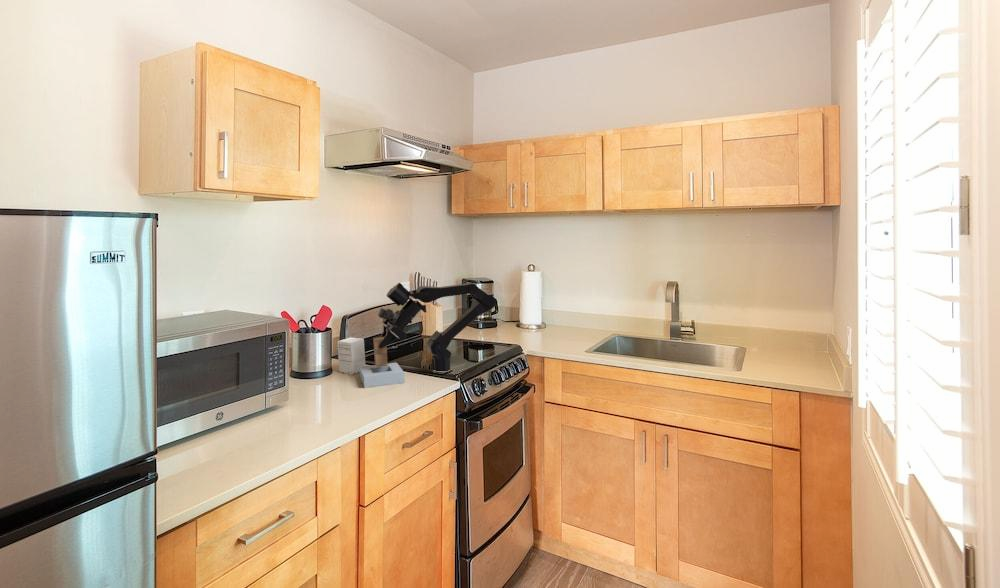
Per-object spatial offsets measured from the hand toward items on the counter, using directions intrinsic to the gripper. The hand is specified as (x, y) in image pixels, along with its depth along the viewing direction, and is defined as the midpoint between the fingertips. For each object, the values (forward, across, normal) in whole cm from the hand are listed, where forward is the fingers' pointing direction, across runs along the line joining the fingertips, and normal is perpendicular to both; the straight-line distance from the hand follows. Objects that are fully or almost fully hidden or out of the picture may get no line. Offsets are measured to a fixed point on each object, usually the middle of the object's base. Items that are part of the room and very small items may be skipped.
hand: (378, 346), depth 175 cm
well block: (+9, 0, +9) cm, 13 cm away
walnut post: (+5, 0, +5) cm, 7 cm away
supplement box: (+15, -17, +3) cm, 23 cm away
